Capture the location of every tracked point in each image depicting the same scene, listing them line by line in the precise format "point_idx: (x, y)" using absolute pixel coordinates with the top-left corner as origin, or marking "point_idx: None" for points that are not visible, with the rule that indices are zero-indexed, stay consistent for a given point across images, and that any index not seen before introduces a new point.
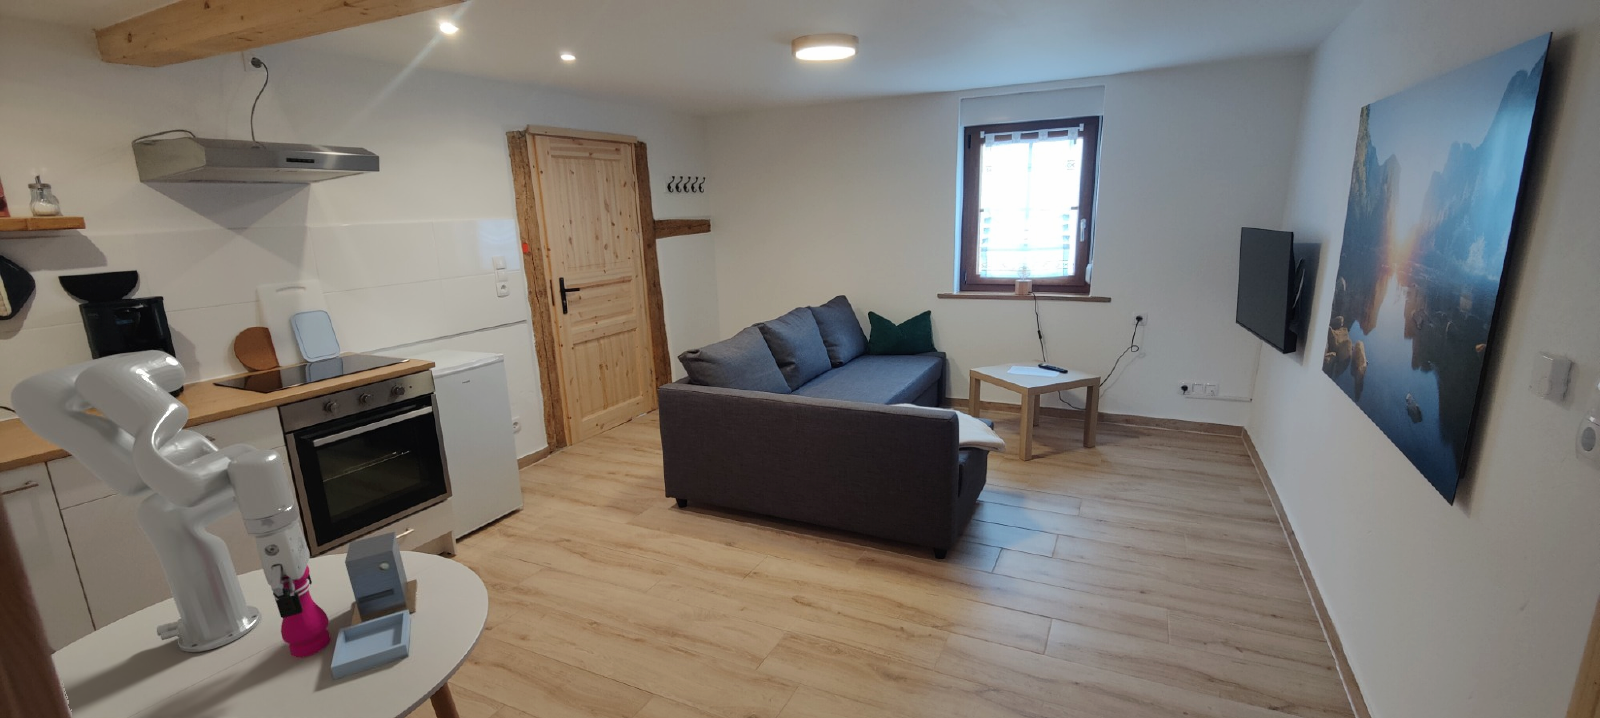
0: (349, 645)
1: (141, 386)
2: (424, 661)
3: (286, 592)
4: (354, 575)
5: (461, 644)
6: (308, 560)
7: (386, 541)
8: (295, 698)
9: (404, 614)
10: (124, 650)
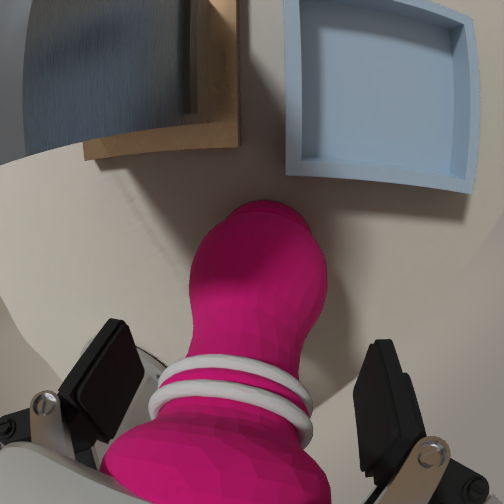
0: (343, 145)
1: None
2: (480, 11)
3: (485, 481)
4: (117, 102)
5: None
6: (83, 476)
7: None
8: (456, 256)
9: None
10: None
